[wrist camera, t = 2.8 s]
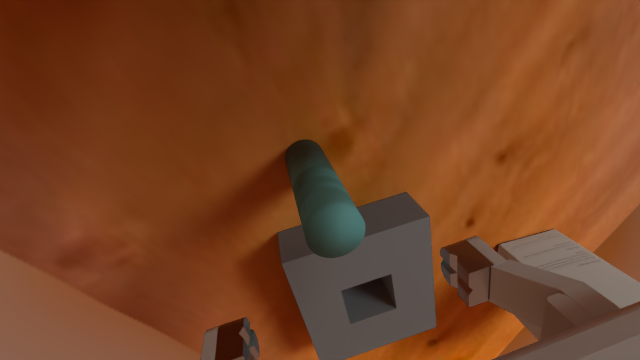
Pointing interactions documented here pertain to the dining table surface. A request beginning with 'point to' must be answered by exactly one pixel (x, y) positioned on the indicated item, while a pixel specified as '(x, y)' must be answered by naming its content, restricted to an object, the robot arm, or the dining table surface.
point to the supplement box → (571, 267)
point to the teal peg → (323, 202)
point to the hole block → (366, 281)
